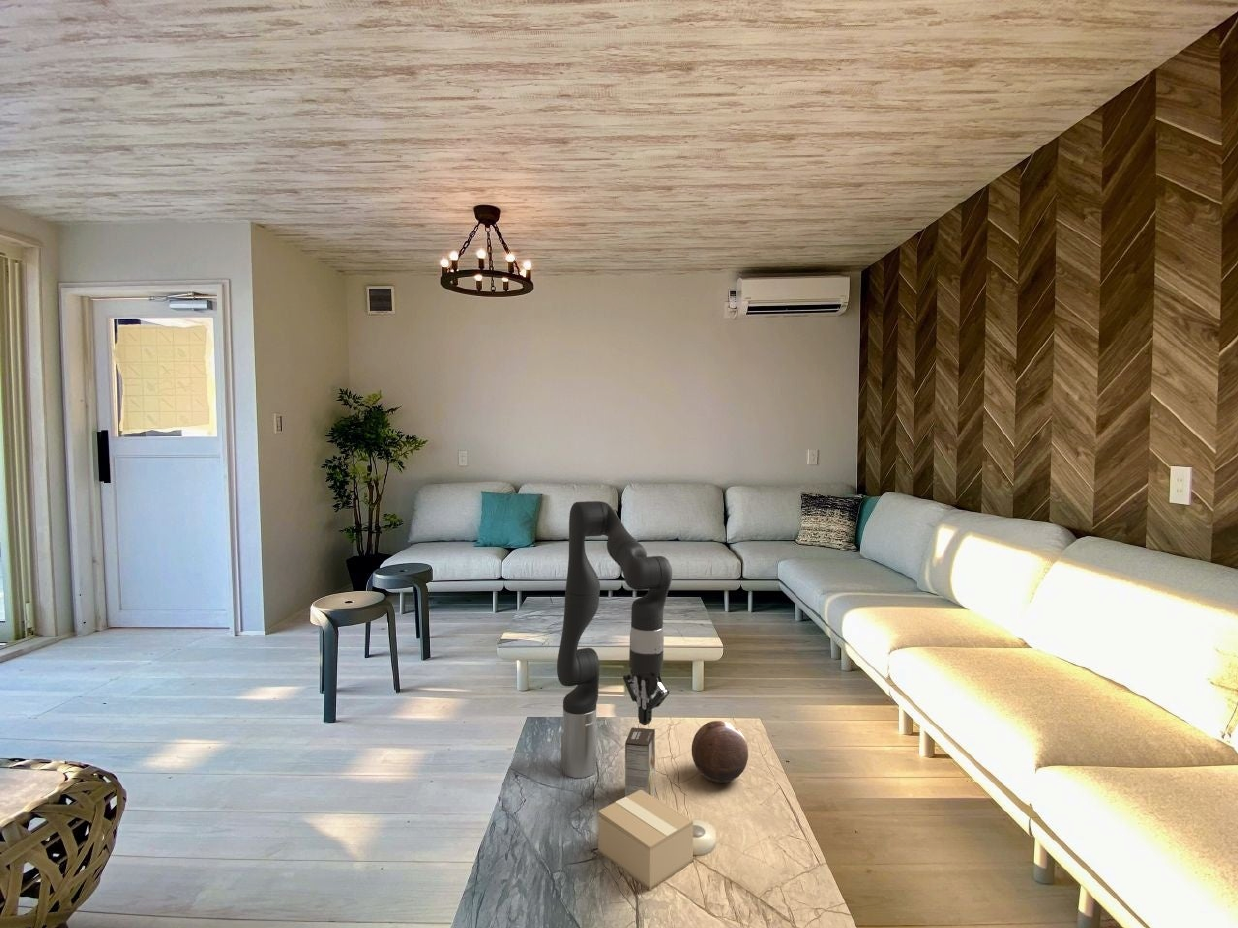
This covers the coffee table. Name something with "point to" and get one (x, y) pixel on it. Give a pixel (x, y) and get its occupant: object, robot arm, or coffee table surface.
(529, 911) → the coffee table surface
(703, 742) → the wooden sphere
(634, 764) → the coffee box
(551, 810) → the coffee table surface
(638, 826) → the lid
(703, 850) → the cream domed button
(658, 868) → the box
